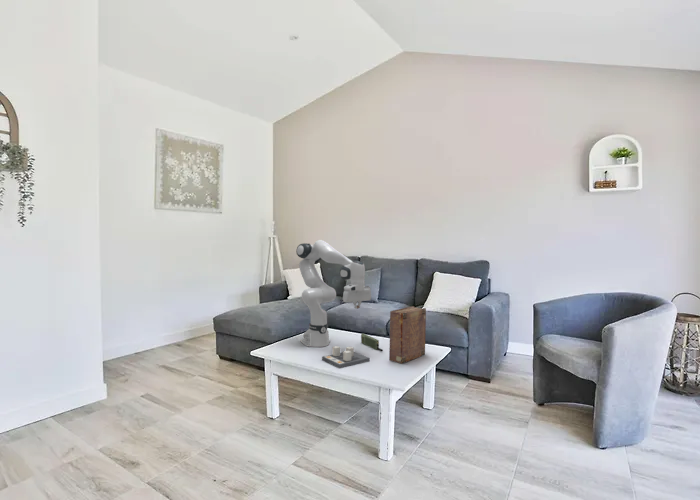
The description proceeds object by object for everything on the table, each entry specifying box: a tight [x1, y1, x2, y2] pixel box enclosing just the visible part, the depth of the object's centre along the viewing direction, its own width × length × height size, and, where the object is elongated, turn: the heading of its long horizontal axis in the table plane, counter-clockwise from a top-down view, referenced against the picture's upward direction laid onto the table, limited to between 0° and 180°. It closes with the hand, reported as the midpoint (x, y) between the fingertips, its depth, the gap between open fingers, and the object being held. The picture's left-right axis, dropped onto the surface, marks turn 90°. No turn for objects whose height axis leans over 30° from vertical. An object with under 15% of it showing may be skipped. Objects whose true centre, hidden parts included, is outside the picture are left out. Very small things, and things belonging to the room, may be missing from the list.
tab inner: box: [331, 345, 341, 357], centre depth 234 cm, size 3×4×5 cm
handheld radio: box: [360, 333, 384, 352], centre depth 260 cm, size 7×3×25 cm
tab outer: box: [343, 350, 351, 361], centre depth 225 cm, size 3×4×5 cm
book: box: [388, 305, 427, 365], centre depth 239 cm, size 25×9×30 cm, turn 137°
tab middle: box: [345, 346, 355, 357], centre depth 233 cm, size 3×4×5 cm
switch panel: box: [321, 351, 370, 369], centre depth 232 cm, size 18×22×2 cm
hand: (357, 308), depth 245 cm, fingers closed
